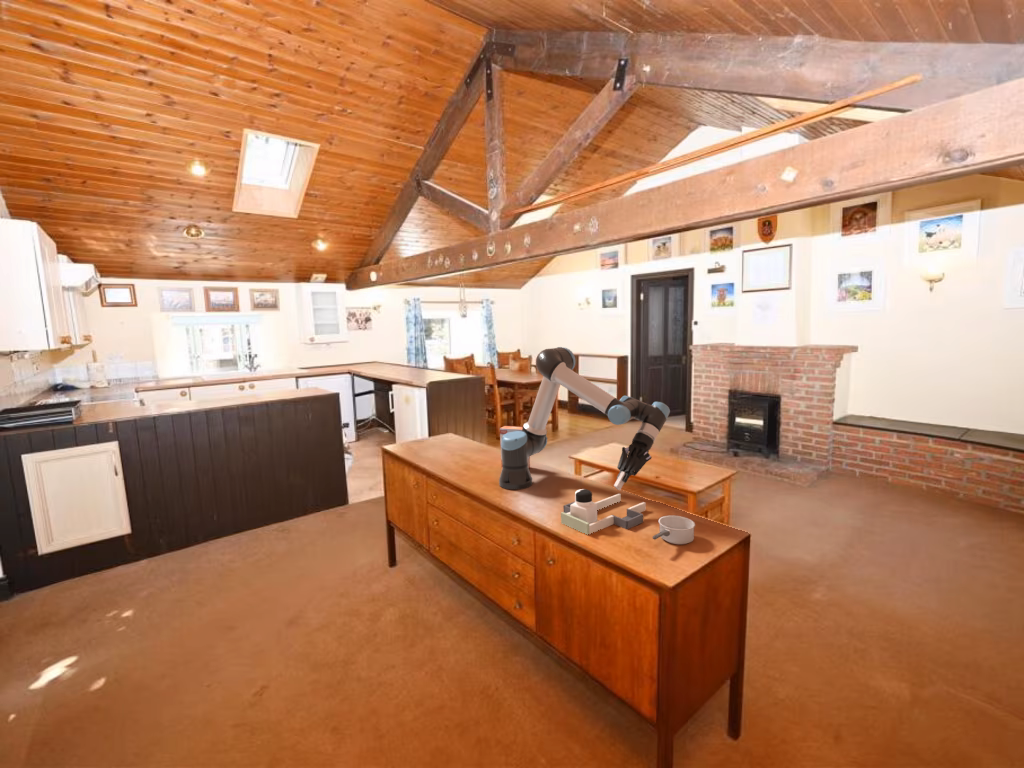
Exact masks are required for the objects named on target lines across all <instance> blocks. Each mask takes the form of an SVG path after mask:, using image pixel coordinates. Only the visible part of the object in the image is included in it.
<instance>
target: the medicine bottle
mask: <svg viewBox="0 0 1024 768" xmlns="http://www.w3.org/2000/svg"><path fill="white" fill-rule="evenodd" d="M574 502H575V503H573V504H571V505H570V515H571V516H573V517H576V518H578V519H580V520H583V521H585V522H587V523H589V524H591V523H594V522H596V521H598V511H597V503H595V502H594V501H593V492H592V491H591V490H589V489H586V488H582V489H580V488H579V489H577V490H576V491H575V493H574Z"/></svg>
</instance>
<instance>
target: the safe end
mask: <svg viewBox="0 0 1024 768" xmlns="http://www.w3.org/2000/svg"><path fill="white" fill-rule="evenodd" d="M560 523H561V524H562V525H564V524H565V525H564V526H566V525H567V526H566V527H568V526H569V528H570V527H571V528H570V529H573V528H574V529H573V530H575V529H576V530H575V531H577V530H578V531H577V532H579V531H580V532H579V533H581V532H582V533H581V534H583V533H585V534H584V535H586V534H587V535H586V536H589V535H590V534H589V523H587V522H585V521H583V520H580V519H578V518H576V517H573V516H571V515H569V514H566V513H564V511H562V512H560ZM588 534H589V535H588Z"/></svg>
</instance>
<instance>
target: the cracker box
mask: <svg viewBox="0 0 1024 768" xmlns="http://www.w3.org/2000/svg"><path fill="white" fill-rule="evenodd" d="M522 428H523V426H512V425H504V426H502V427H499V437H500V438H499V439H500V441H499V442H500V465H501V468H502V447H501V443H502V437H503V435H505V434H506V433H509V432H513V431H522ZM530 467H531V456H529V457H528V469H529V468H530Z"/></svg>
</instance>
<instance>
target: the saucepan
mask: <svg viewBox="0 0 1024 768" xmlns="http://www.w3.org/2000/svg"><path fill="white" fill-rule="evenodd" d="M658 524H659V532H658V533H656V534H654V535H652V539H653V540H657V539H659V538H661V539H663V540H664V541H666V542H668V543H670V544H673V545H686V544H688V543H692V542H693V541H694V539H695V535H694V534H695V527H696V523H695V521H693V519H690V518H688V517H686V516H680V515H664V516H661V517H659V519H658Z"/></svg>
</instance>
